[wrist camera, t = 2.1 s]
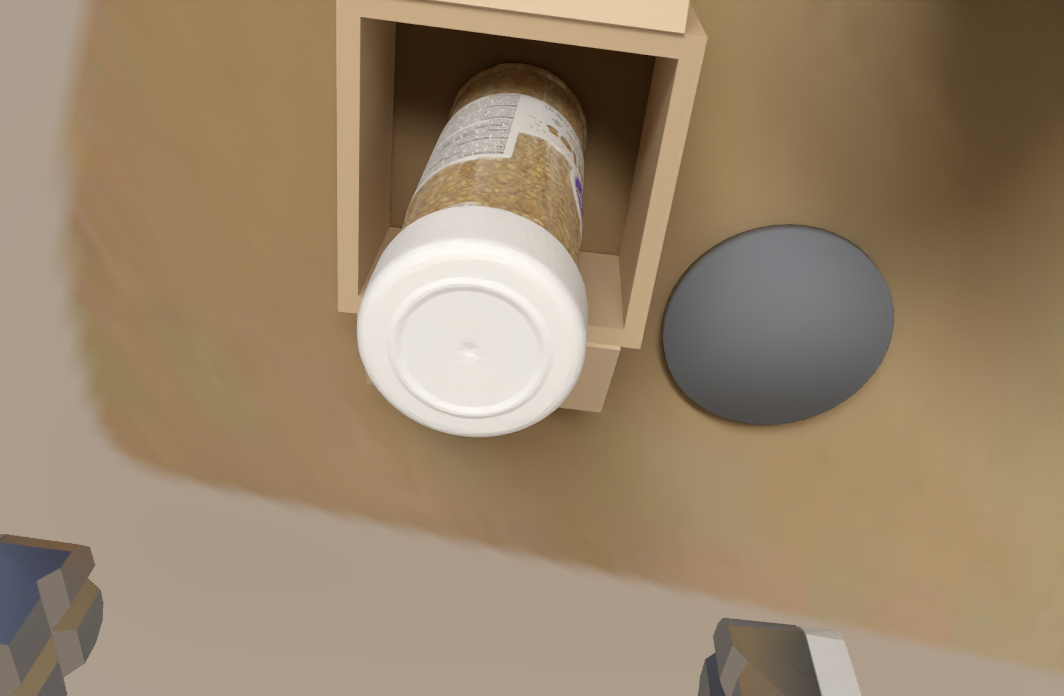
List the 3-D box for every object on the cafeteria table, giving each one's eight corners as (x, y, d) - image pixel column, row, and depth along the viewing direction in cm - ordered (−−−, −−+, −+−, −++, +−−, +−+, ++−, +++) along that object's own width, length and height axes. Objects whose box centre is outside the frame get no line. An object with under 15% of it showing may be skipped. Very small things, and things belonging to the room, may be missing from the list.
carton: (715, -144, 24) (745, -131, 19) (615, 360, 33) (619, 445, 28) (380, -190, 24) (333, -187, 19) (370, 329, 32) (337, 411, 28)
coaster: (921, 240, 29) (927, 248, 29) (848, 427, 34) (852, 437, 33) (687, 210, 29) (689, 217, 29) (643, 401, 34) (644, 410, 33)
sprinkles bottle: (604, 172, 29) (616, 417, 17) (476, 211, 30) (407, 468, 18) (561, 36, 26) (543, 214, 15) (424, 83, 27) (310, 284, 16)
